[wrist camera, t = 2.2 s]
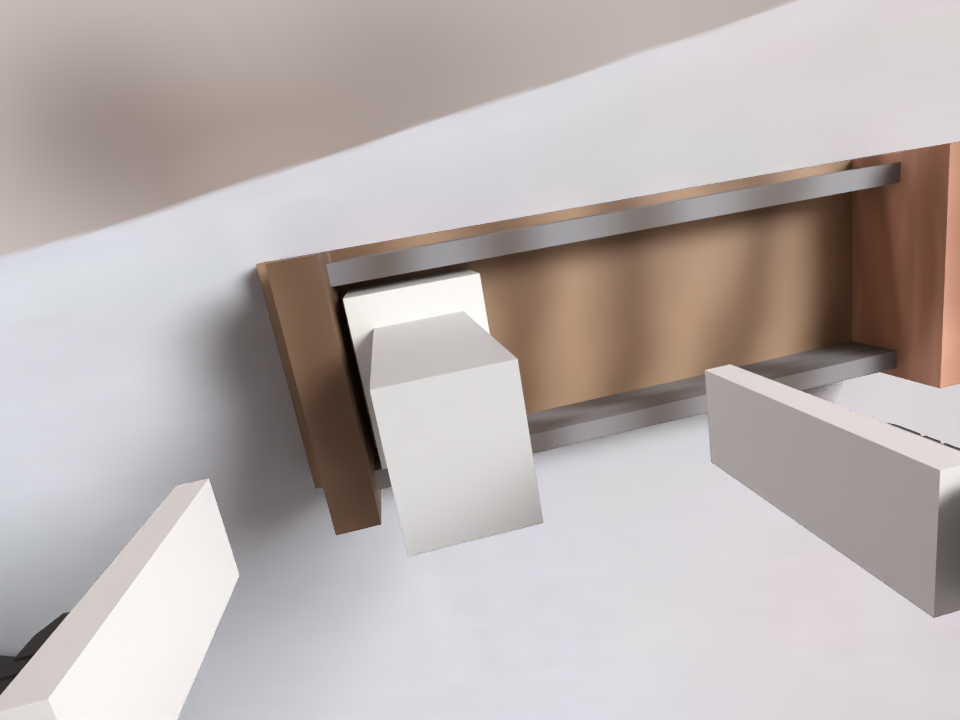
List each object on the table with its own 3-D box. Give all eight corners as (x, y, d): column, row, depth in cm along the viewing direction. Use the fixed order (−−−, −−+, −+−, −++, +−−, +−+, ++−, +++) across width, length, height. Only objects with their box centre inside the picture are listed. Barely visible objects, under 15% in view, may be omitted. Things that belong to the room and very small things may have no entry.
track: (318, 476, 31) (301, 543, 24) (262, 262, 28) (225, 270, 21) (880, 348, 36) (997, 374, 29) (883, 153, 33) (1013, 132, 26)
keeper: (381, 438, 29) (383, 611, 16) (348, 290, 27) (316, 342, 14) (491, 414, 30) (581, 558, 17) (465, 268, 28) (545, 296, 15)
